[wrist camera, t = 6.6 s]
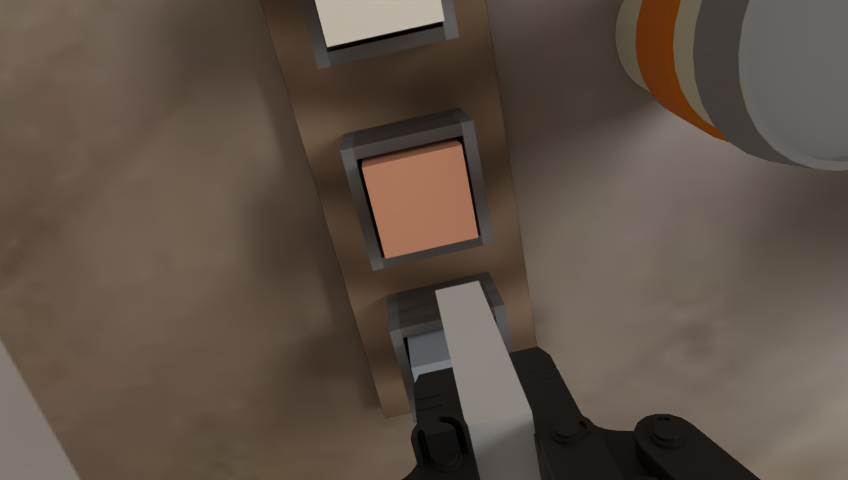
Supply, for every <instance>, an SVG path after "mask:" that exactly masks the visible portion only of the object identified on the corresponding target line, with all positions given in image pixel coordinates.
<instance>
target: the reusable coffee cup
mask: <svg viewBox="0 0 848 480" xmlns="http://www.w3.org/2000/svg"><path fill="white" fill-rule="evenodd" d="M615 41H616V49H617V54H618V57H619V59H620V62H621V65H622V67H623V68H624V70H625V72H626V73H627V75H628V76H629V77H630V78H631V79H632V80H633V81H634V82H635V83H636V84H637V85H639V86H641V87H642V88H644V89H645V90H647V91H649V92H651V94H652V96H653V97H654V98H655V99H656V100H657V101H658V102H659V103H660V104H661V105H662V106H663V107H664V108H666V109H668V110H669V111H671V112H672V113H674V114H675V115H677V116H679V117H680V118H682V119H684V120H686V121H687V122H689V123H691V124H693V125H694V126H696V127H698V128H699V129H701V130H703V131H705V132H706V133H708V134H710V135H712V136H713V137H716V138H719V139H722V140H725V141H727V142H730V143H732V144H733V145H735V146H736V147H738V148H740V149H741V150H743V151H744V152H746V153H747V154H750V155H753V156H756V157H759V158H762V159H765V160H768V161H773V162H779V163H784V164H790V165H796V166H801V167H807V168H813V169H822V170H832V171H843V170H848V0H623V2H622V4H621V6H620V9H619V13H618V17H617V21H616V32H615Z"/></svg>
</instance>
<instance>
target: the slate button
mask: <svg viewBox="0 0 848 480" xmlns="http://www.w3.org/2000/svg"><path fill="white" fill-rule="evenodd" d="M407 338H408V346H409V354H410V362H411V369H412V373H413V377H414V381H415V382H416V380H417V378H418V375H419V374H424V373H428V372H432V371H437V370H441V369H446V368H450V367H452V363H451V359H450V354H449V350H448V346H447V341H446V337H445V332H444V328H443V329H439V330H435V331H430V332H426V333H422V334H417V335H413V336H409V337H407Z"/></svg>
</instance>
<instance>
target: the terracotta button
mask: <svg viewBox="0 0 848 480" xmlns="http://www.w3.org/2000/svg"><path fill="white" fill-rule="evenodd" d="M362 170H363V174H364V178H365V182H366V186H367V190H368V193H369V197H370V201H371V205H372V209H373V213H374V217H375V220H376V224H377V228H378V232H379V236H380V240H381V243H382V247H383V251H384V255H385V259H387V258H391V257H396V256H400V255H404V254H409V253H413V252H417V251H422V250H426V249H430V248H435V247H439V246H443V245H448V244H452V243H456V242H461V241H465V240H469V239H474V238H478V232H477V227H476V221H475V216H474V210H473V205H472V199H471V194H470V188H469V183H468V177H467V172H466V166H465V161H464V155H463V150H462V145H461V144H460V142H459V141H458V140H457V138H456V137H453V138H449V139H445V140H440V141H436V142H431V143H427V144H423V145H418V146H414V147H409V148H405V149H401V150H396V151H392V152H388V153H383V154H379V155H374V156H370V157H366V158H362Z"/></svg>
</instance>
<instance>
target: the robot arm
mask: <svg viewBox="0 0 848 480" xmlns="http://www.w3.org/2000/svg"><path fill="white" fill-rule="evenodd" d="M435 292H436V297H437V301H438V306H439V310H440V315H441V319H442V323H443V328H444V332H445V337H446V341H447V346H448V350H449V354H450V359H451V363H452V367H450V368H446V369H441V370H437V371H432V372H428V373H424V374H419V375H418V378H417V380H416V382H415V384H414V387H413V391H414V400H415V410H416V420H417V425H416V426H415V428H414V429H413V431H412V435H411V442H412V446H413V449H414V453H415V457H416V460H417V465H416V466H415V468H414V469H413V471H412V472H411V473H410V474H409V475H408V476H406V477H405V478H403V479H402V480H760V479H759V478H758V477H756V476H755V475H754V474H753V473H752V472H750V471H749V470H748V469H747V468H745V467H744V466H743V465H742V464H740V463H739V462H738V461H737V460H736V459H734V458H733V457H732V456H731V455H729V454H728V453H727V452H726V451H724V450H723V449H722V448H721V447H719V446H718V445H717V444H716V443H715V442H713V441H712V440H711V439H710V438H708V437H707V436H706V435H705V434H703V433H702V432H701V431H700V430H699V429H697V428H696V427H695V426H694V425H692V424H691V423H689V422H688V421H686V420H684V419H683V418H681V417H677V416H673V415H670V414H654V415H650V416H647V417H645V418H643V419H642V420H640V421H639V422H638V423H637V425H636V427H635V429H634V431H615V430H607V429H604V428H600V427H597V426H595V425H594V424H593V423H592V422H591V421H590V420H589V419H588V418H586V417H584V416H583V415H582V414H581V412H580V410H579V409H578V407H577V405H576V403H575V401H574V399H573V397H572V395H571V394H570V392H569V390H568V388H567V386H566V384H565V382H564V380H563V379H562V377H561V375H560V373H559V371H558V369H557V368H556V365H555V364H554V362H553V360H552V358H551V356H550V355H549V354H548V353H546V352H545V351H543V350H542V349H541V348H539V347H538V346H537V347H533V348H529V349H524V350H520V351H515V352H511V353H508V352H507V349H506V347H505V345H504V342H503V340H502V337H501V335H500V332H499V330H498V327H497V325H496V322H495V320H494V317H493V315H492V313H491V310H490V308H489V305H488V303H487V300H486V298H485V295H484V293H483V290H482V288H481V286H480V283H479V281H475V282H471V283H466V284H462V285H458V286H453V287H449V288H444V289H440V290H436V291H435Z"/></svg>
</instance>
